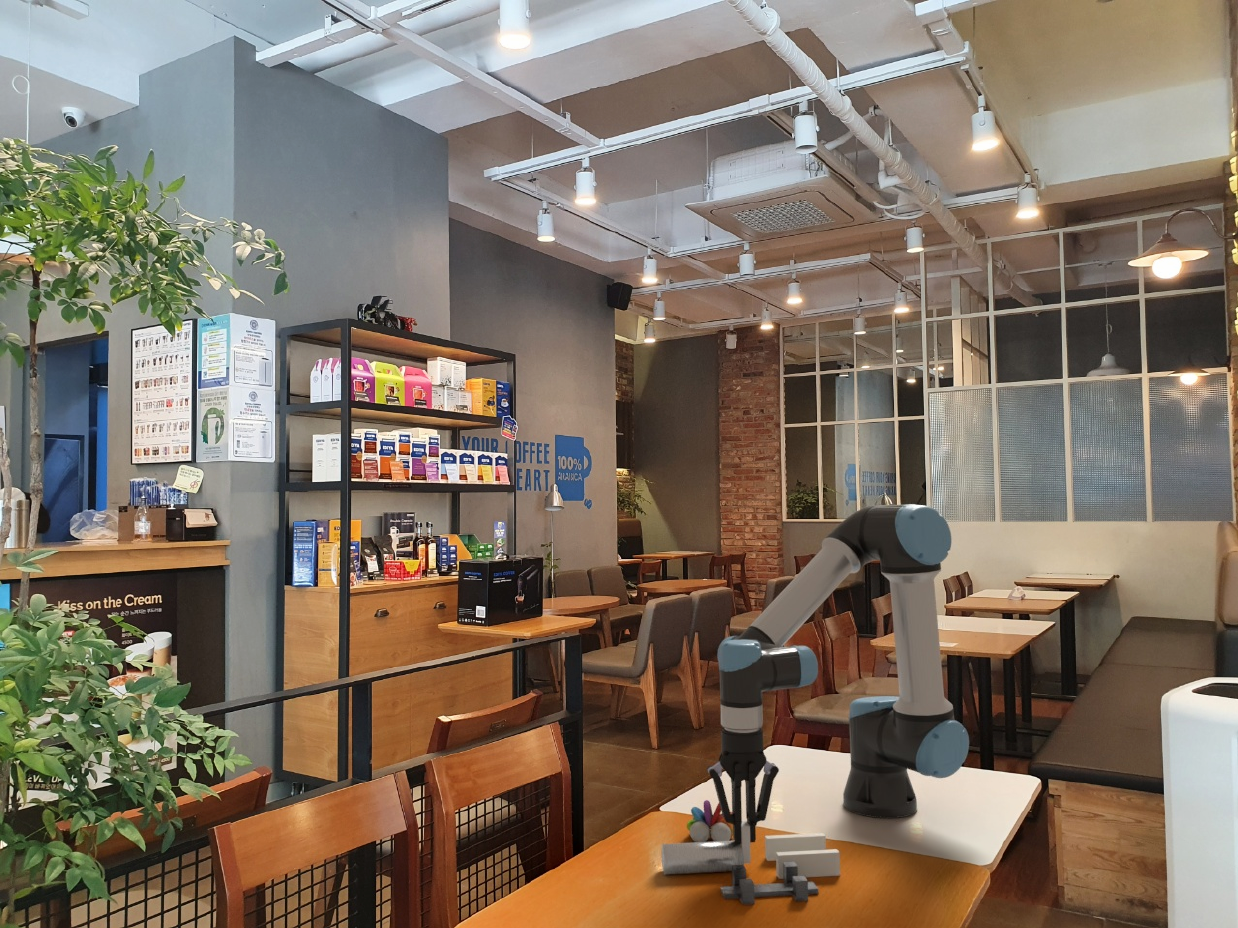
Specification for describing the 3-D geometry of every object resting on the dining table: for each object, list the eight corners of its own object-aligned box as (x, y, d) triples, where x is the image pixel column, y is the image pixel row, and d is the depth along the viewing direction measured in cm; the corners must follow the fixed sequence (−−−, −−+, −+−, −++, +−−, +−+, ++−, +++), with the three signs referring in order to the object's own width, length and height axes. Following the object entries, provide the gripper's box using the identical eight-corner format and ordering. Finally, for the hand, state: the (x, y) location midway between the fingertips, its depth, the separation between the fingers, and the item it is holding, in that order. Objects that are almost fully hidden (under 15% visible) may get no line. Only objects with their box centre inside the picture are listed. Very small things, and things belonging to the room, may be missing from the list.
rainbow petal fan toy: (735, 847, 175) (734, 809, 175) (684, 844, 177) (683, 806, 177) (738, 831, 183) (737, 794, 183) (689, 829, 185) (689, 792, 185)
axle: (738, 864, 167) (737, 836, 167) (744, 874, 162) (743, 844, 162) (661, 869, 165) (661, 840, 166) (665, 878, 160) (664, 848, 161)
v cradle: (808, 880, 159) (808, 860, 159) (823, 899, 151) (822, 879, 151) (718, 885, 158) (717, 865, 158) (727, 905, 150) (727, 884, 150)
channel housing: (823, 854, 170) (822, 832, 170) (840, 875, 161) (839, 852, 161) (765, 857, 169) (764, 835, 169) (778, 878, 160) (778, 855, 160)
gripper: (771, 721, 169) (775, 850, 168) (702, 723, 168) (705, 854, 167) (782, 731, 162) (786, 866, 161) (710, 734, 161) (713, 870, 160)
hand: (745, 860), depth 164 cm, fingers closed
